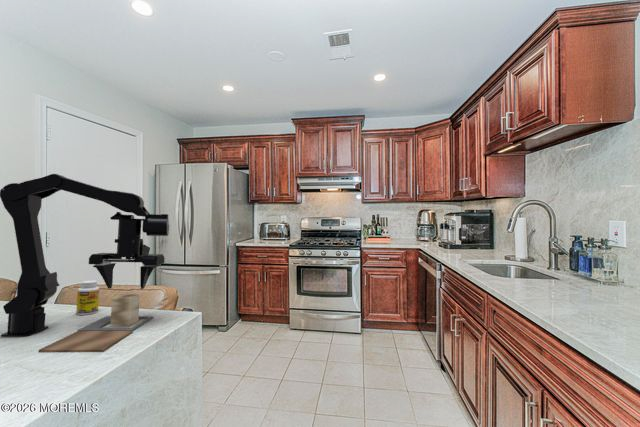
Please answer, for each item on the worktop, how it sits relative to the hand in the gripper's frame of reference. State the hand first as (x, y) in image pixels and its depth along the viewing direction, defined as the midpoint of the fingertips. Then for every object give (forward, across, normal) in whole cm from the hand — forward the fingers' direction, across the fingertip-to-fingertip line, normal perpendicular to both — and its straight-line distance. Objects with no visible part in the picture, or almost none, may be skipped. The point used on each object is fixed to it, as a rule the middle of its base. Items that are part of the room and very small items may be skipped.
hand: (126, 288), depth 86 cm
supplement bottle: (+11, +17, -10) cm, 23 cm away
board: (+10, +1, +13) cm, 17 cm away
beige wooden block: (+10, 0, 0) cm, 10 cm away
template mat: (+10, +1, 0) cm, 11 cm away
